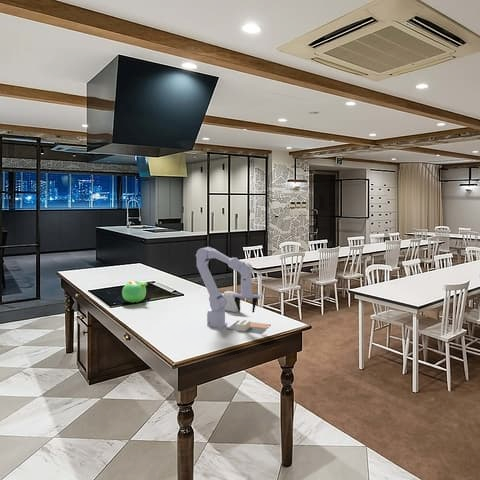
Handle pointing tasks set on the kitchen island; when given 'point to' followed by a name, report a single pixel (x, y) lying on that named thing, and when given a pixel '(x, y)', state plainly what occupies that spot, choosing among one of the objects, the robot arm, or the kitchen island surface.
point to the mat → (252, 327)
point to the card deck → (243, 325)
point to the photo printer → (230, 301)
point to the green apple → (134, 291)
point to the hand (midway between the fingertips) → (246, 311)
